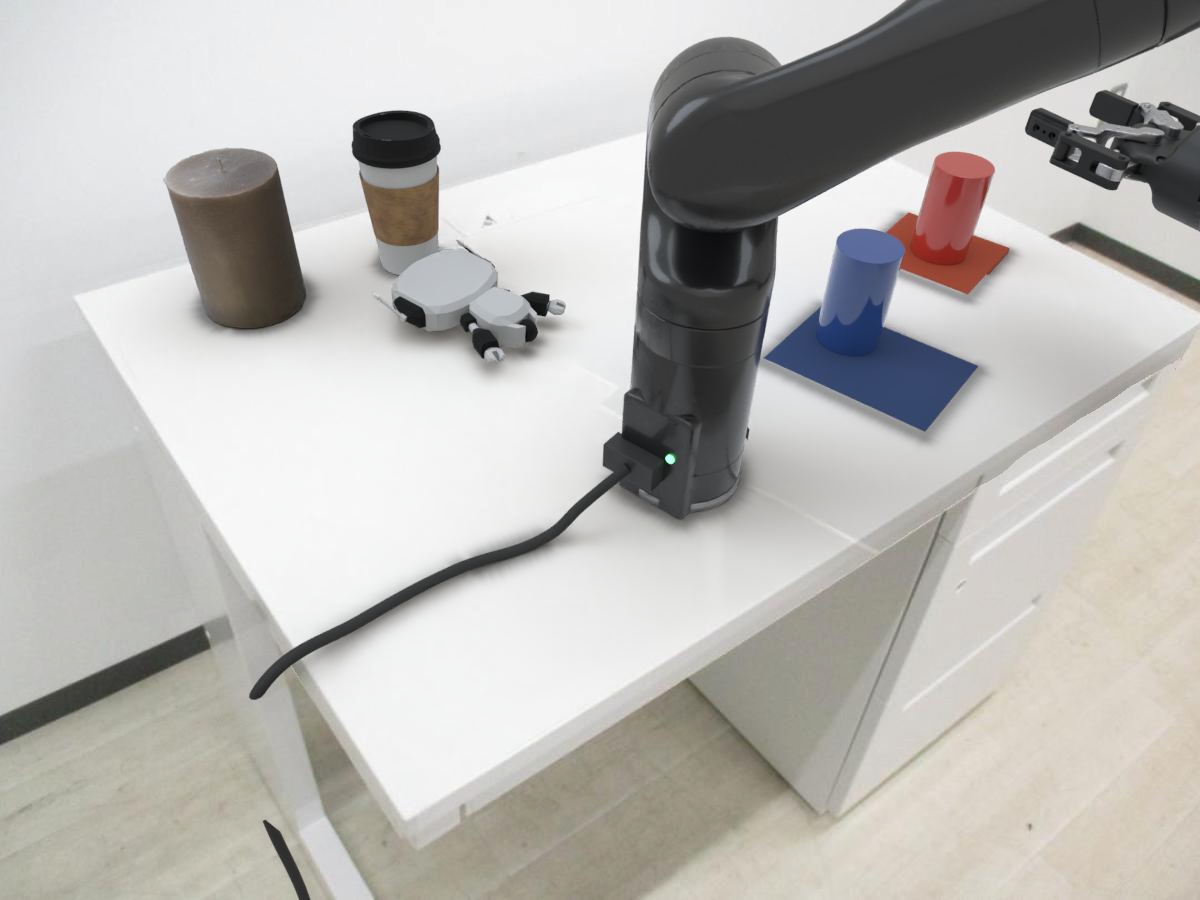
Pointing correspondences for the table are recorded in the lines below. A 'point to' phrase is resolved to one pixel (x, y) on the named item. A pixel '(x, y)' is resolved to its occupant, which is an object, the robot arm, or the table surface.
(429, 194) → the coffee cup
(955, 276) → the red mat
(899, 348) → the blue mat
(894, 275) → the blue glossy cylinder
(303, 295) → the pillar candle
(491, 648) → the table surface
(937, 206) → the red glossy cylinder
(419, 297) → the robot toy
